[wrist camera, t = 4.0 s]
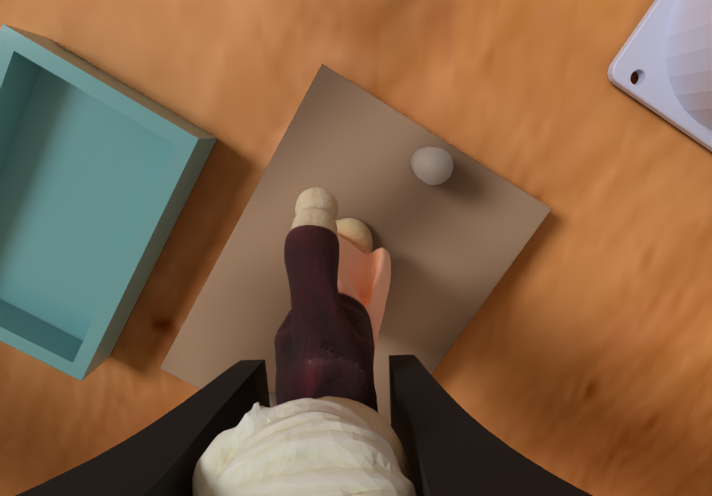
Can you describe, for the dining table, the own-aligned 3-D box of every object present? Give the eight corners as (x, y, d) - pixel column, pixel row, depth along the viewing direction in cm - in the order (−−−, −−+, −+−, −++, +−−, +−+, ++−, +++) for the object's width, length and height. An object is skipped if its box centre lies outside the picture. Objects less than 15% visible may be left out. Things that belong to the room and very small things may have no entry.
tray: (217, 138, 17) (198, 138, 15) (109, 356, 19) (81, 381, 18) (46, 37, 16) (2, 23, 14) (-44, 279, 19) (-91, 295, 17)
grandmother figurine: (406, 335, 18) (529, 817, 6) (316, 354, 18) (249, 857, 6) (366, 150, 15) (429, 293, 3) (263, 174, 16) (-28, 392, 4)
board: (539, 203, 17) (577, 218, 14) (361, 452, 20) (360, 508, 17) (325, 68, 16) (315, 53, 13) (172, 354, 19) (135, 396, 16)
